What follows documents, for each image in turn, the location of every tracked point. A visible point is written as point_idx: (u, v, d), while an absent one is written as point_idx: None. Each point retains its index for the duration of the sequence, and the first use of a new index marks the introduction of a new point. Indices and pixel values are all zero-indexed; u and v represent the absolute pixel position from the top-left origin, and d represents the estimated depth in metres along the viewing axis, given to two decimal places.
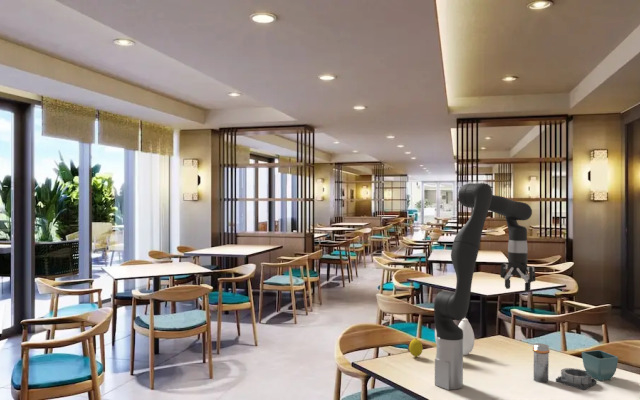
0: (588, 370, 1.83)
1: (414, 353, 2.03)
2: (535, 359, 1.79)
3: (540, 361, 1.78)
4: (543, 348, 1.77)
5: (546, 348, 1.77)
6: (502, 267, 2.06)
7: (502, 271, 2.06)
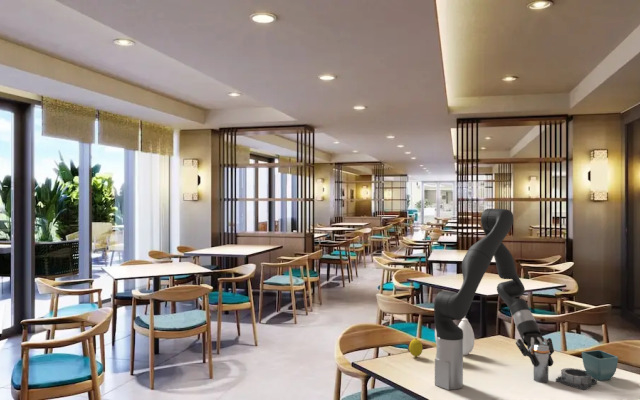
0: (588, 370, 1.83)
1: (414, 353, 2.03)
2: None
3: (540, 361, 1.78)
4: (543, 348, 1.77)
5: (546, 348, 1.77)
6: (521, 342, 1.82)
7: (524, 346, 1.81)
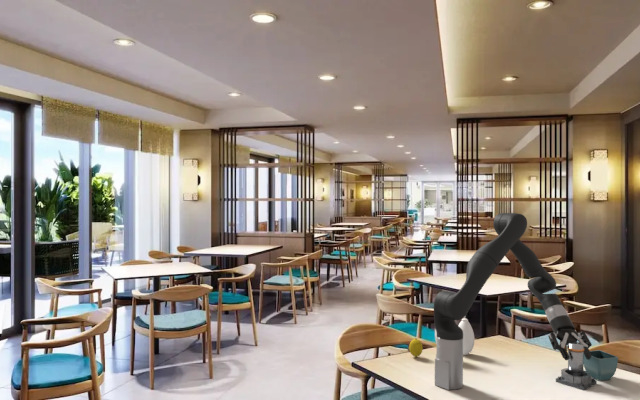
0: (588, 370, 1.83)
1: (414, 353, 2.03)
2: (570, 358, 1.77)
3: (575, 360, 1.76)
4: (578, 347, 1.75)
5: (581, 346, 1.75)
6: (553, 335, 1.81)
7: (555, 340, 1.80)
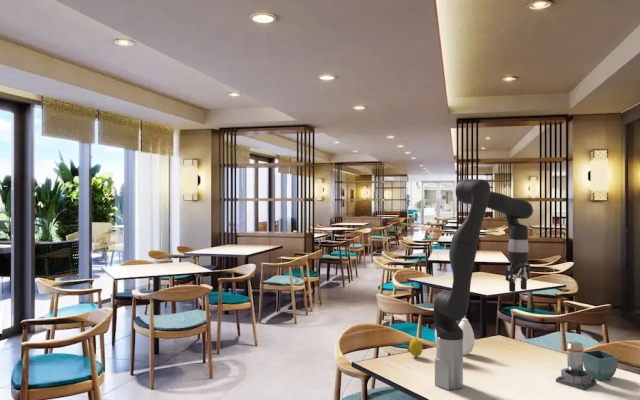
0: (588, 370, 1.83)
1: (414, 353, 2.03)
2: (569, 358, 1.77)
3: (575, 360, 1.76)
4: (577, 346, 1.75)
5: (580, 346, 1.76)
6: (512, 270, 1.92)
7: (512, 274, 1.92)
